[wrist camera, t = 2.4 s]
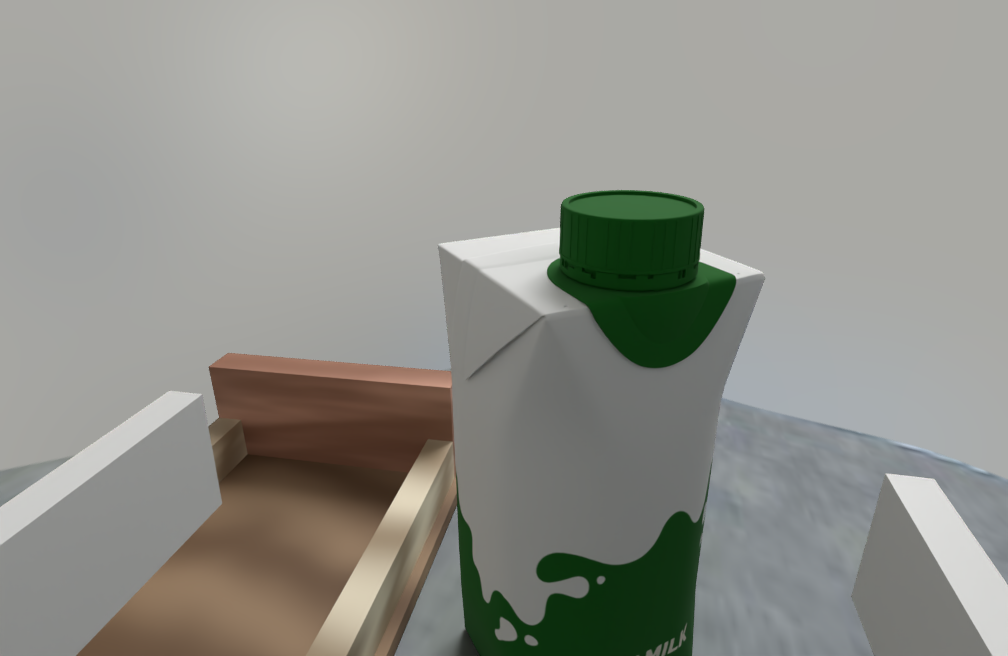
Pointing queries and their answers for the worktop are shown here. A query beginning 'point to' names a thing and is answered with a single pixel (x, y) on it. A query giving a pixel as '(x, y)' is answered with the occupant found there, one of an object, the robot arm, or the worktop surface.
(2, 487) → the worktop surface
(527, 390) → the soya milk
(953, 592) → the robot arm
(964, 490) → the worktop surface
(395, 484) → the dock
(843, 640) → the worktop surface
